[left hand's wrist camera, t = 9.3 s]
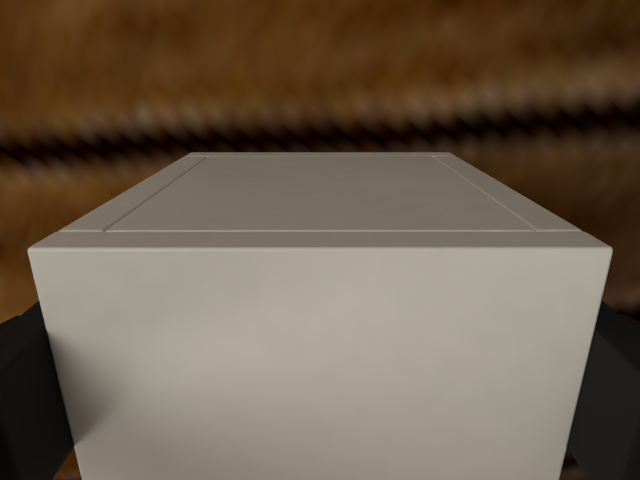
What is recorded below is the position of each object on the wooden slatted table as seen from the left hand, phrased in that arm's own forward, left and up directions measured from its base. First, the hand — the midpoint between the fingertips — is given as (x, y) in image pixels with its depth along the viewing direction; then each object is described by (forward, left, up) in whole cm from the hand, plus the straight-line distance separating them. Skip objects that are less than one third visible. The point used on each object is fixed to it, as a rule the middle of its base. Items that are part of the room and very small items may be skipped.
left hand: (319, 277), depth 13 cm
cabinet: (+1, +6, -5) cm, 8 cm away
